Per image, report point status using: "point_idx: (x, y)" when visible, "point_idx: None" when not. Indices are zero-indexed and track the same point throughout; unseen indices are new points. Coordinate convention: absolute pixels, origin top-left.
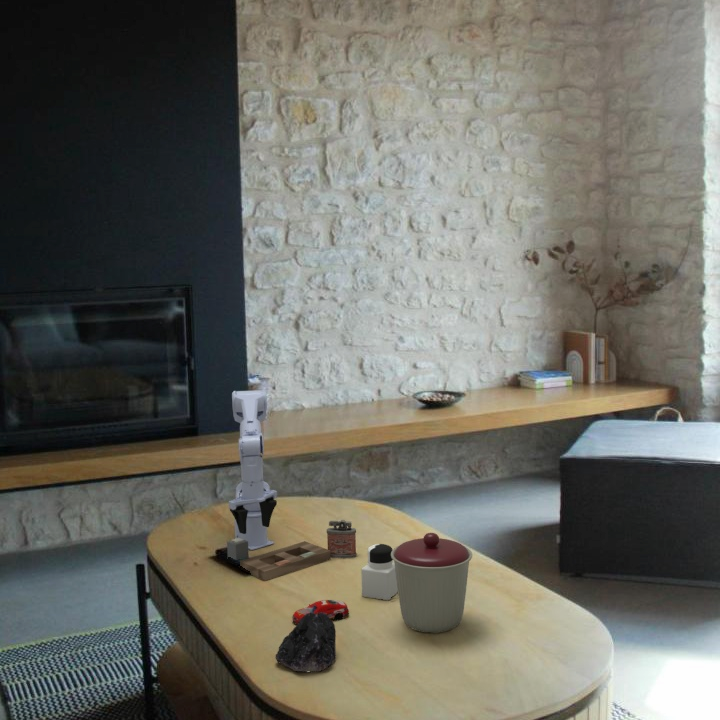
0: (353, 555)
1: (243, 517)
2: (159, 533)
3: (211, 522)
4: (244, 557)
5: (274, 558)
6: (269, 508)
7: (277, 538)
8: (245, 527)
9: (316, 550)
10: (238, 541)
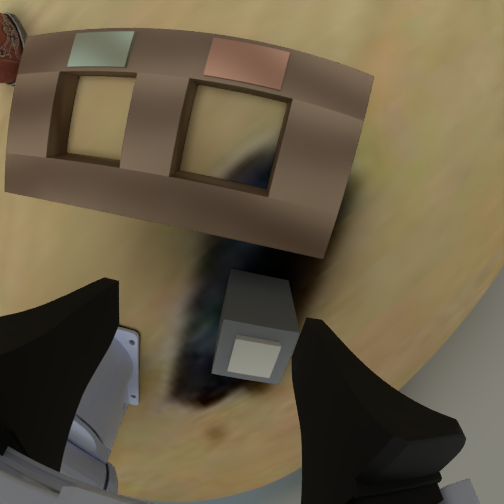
0: (9, 13)
1: (396, 397)
2: (210, 497)
3: None
4: (250, 285)
5: (176, 174)
6: (29, 346)
7: None
8: (330, 339)
9: (43, 72)
10: (268, 344)
